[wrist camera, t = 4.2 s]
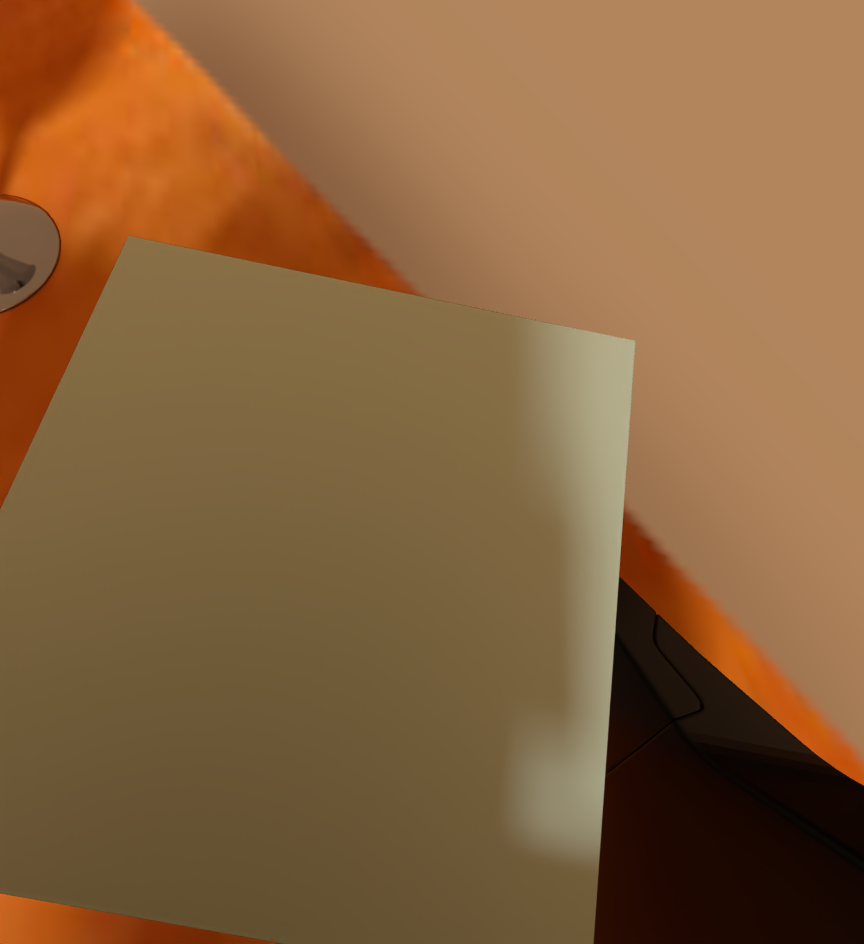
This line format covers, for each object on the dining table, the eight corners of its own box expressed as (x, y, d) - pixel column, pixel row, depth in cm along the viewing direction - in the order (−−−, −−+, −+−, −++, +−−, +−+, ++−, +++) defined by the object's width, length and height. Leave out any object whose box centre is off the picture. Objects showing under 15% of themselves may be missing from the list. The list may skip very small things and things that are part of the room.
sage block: (440, 617, 14) (589, 996, 2) (323, 594, 14) (-167, 864, 2) (460, 501, 16) (635, 340, 3) (351, 479, 16) (128, 236, 3)
